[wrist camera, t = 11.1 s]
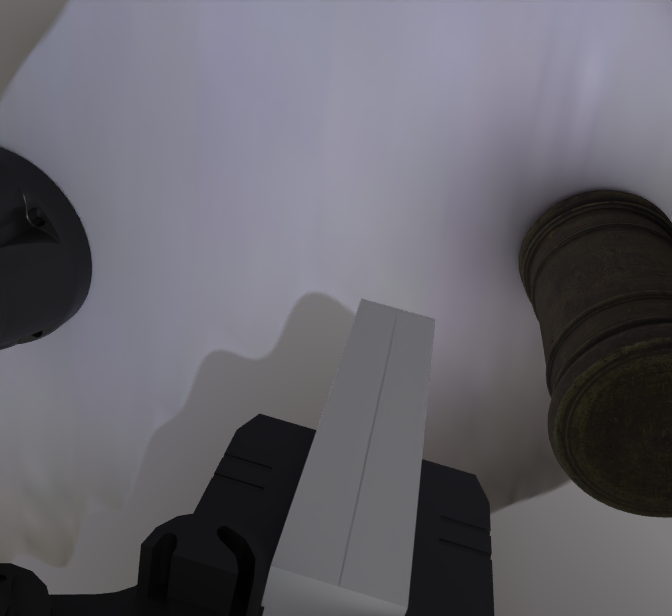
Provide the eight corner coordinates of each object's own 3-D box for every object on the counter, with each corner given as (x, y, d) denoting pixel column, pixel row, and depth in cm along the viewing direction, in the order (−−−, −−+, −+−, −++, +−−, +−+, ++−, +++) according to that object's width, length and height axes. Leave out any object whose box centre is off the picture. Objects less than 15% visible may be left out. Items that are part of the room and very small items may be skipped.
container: (491, 246, 40) (492, 409, 25) (622, 155, 36) (721, 281, 21) (574, 346, 42) (624, 559, 26) (707, 270, 38) (858, 468, 22)
